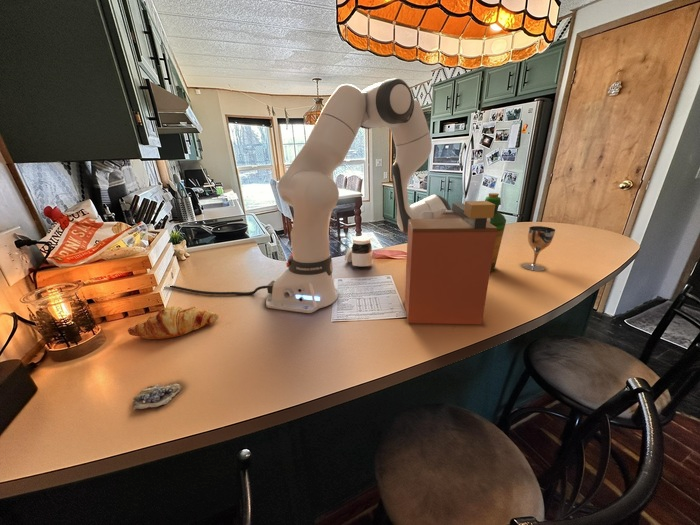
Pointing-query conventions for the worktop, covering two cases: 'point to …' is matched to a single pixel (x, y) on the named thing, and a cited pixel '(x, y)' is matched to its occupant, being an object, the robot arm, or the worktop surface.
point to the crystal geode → (156, 396)
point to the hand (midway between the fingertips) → (460, 211)
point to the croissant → (172, 323)
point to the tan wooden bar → (474, 212)
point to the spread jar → (360, 253)
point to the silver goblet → (539, 243)
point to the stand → (447, 270)
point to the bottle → (496, 225)
